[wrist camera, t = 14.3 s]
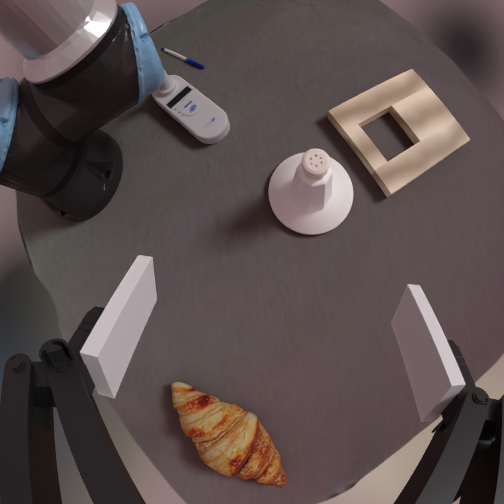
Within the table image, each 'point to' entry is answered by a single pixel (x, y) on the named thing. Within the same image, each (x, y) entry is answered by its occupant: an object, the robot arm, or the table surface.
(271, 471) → the croissant
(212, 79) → the table surface
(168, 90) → the electronic device
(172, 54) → the ballpoint pen
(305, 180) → the pepper shaker
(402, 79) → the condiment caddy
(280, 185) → the saucer
